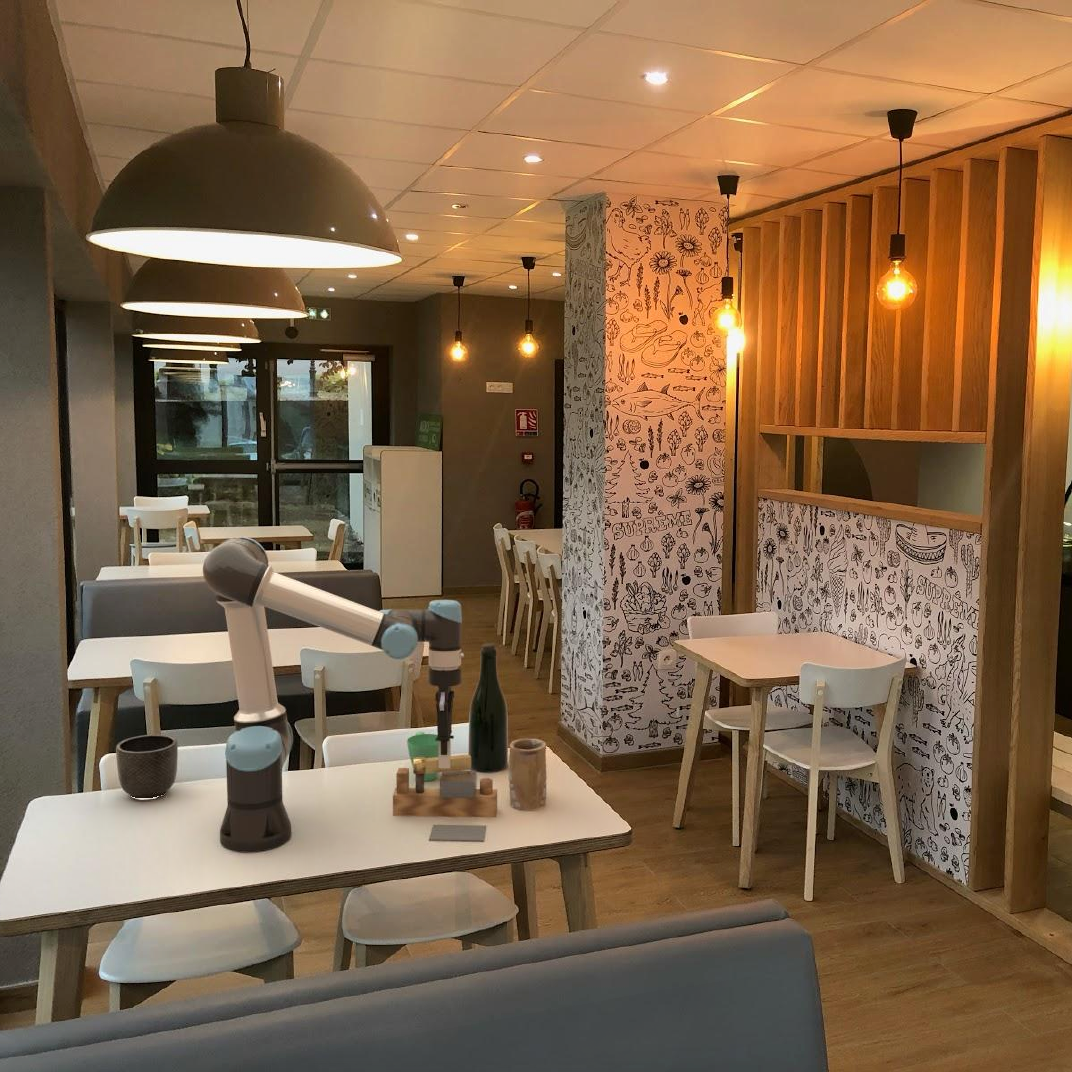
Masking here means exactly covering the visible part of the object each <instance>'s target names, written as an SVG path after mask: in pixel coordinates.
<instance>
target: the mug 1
mask: <svg viewBox="0 0 1072 1072" xmlns="http://www.w3.org/2000/svg"><path fill="white" fill-rule="evenodd" d="M437 736H438V734H434V733H425V732H423V731H418V732H416V733H415V735H411V736H410V737H408V738H407V739H406V742H407V743H406V744H407V749H408V756H409V759H410V762H411V765H412V767H413V759H414V758H416V757H425V758H435V757H438V750H439V741H435V739H436V737H437ZM437 776H438V773H428V774H424V782H429V781H430V782H431V781H433V780H436V778H437Z"/></svg>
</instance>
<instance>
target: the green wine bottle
mask: <svg viewBox="0 0 1072 1072" xmlns="http://www.w3.org/2000/svg"><path fill="white" fill-rule="evenodd" d="M479 655H480V665H479V666H480V667H479V668H480V669H479V676H478V677H479V678H478V682H477V684H476V687H475V689H474V690H475V691H474V693H473V696H472V698H471V701H470V705H469V715H468V716H469V717H468V721H469V722H468V747H467V748H468V749H467V751H468V752H467V753H468V754H467V755H470V756H471V770H473V771H478V772H487V773H489V772H490V773H491V772H497V771H501V770H503V769H506V768H507V766H508V765H509V739H508V737H509V734H508V733H509V732H508V731H509V727H508V722H509V721H508V719H509V718H508V705H507V701H506V698H505V695H504V692H503V690H502V687H501V685H500V682H499V681H500V680H499V676H498V675H499V674H498V659H497V658H498V649H497V648H496V644H495V643H490V642H489V643H488V642H487V643H483V644H482V648H481V649H480V654H479Z"/></svg>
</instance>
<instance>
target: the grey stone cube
mask: <svg viewBox="0 0 1072 1072" xmlns="http://www.w3.org/2000/svg"><path fill="white" fill-rule="evenodd" d="M477 780H478V779H477V770H461V771H450V772H441V774H440V778H439V788H440V798H475V793H476V789H478V788H477V786H478V785H477V783H478V782H477Z"/></svg>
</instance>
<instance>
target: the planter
mask: <svg viewBox="0 0 1072 1072" xmlns="http://www.w3.org/2000/svg"><path fill="white" fill-rule="evenodd" d="M115 746H116V747H115V755H116V757H115V758H116V766H117V774H118V775H117V776H118V780H119V783H120V787H121V789H122V790H123V791H124V792H125V793H126V794H128V795H129V797H131V796H132V797H135V798H153V797H157V796H161V795H164V794H165V793H166V794H167V792H168V791H169V790H170V789H171V788H172V787H173V785H174V783H175V782H176V778H177V771H178V751H179V749H178V746H179V745H178V739H177V738H176V737H174V736H171V735H168V734H145V735H144V734H143V735H138V736H134V737H133V736H132V737H129V738H126V739H124V740H122V741H120V742H118V743H117V744H116V745H115ZM166 794H165V795H166ZM165 795H164V796H165ZM132 797H131V798H132Z"/></svg>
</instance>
